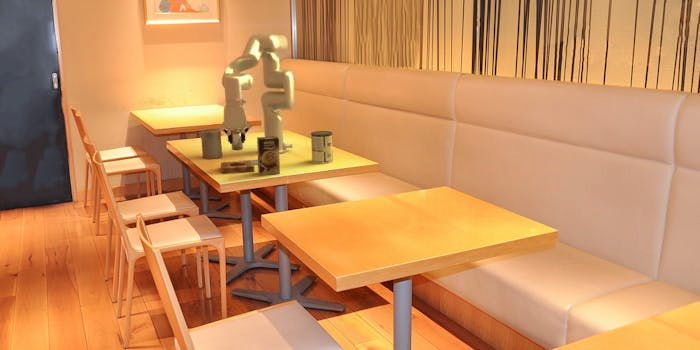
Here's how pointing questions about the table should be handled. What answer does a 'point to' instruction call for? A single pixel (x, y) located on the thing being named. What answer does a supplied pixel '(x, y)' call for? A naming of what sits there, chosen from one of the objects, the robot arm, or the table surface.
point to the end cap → (236, 139)
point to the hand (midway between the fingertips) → (236, 142)
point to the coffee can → (322, 147)
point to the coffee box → (268, 155)
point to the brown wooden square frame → (237, 167)
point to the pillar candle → (211, 143)
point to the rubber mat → (253, 161)
